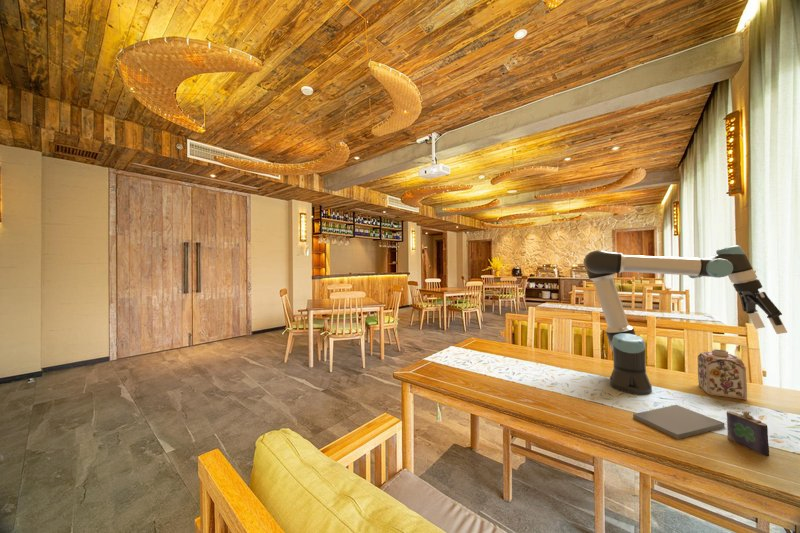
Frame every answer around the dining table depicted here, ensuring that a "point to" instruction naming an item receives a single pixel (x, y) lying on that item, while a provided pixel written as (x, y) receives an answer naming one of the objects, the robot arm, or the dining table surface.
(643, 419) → the slate board
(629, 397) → the dining table surface
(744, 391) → the decorative jar
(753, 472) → the dining table surface
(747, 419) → the flask
